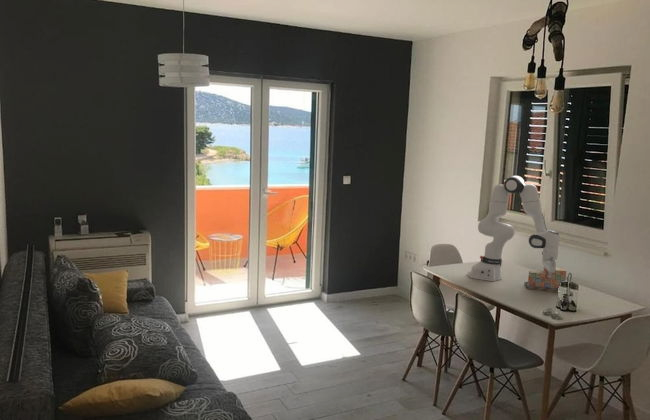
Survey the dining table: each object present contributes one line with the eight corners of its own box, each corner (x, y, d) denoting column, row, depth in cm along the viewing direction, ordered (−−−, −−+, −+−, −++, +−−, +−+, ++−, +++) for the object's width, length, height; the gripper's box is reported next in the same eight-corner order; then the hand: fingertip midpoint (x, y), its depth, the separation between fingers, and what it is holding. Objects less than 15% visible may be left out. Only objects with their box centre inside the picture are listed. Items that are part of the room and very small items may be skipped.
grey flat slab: (527, 288, 349) (527, 285, 349) (524, 284, 359) (524, 281, 358) (567, 293, 345) (568, 290, 345) (563, 288, 355) (564, 285, 354)
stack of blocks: (529, 286, 351) (531, 268, 349) (527, 283, 357) (529, 265, 355) (564, 289, 347) (566, 270, 345) (562, 286, 353) (563, 267, 351)
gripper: (559, 260, 338) (556, 281, 340) (551, 251, 357) (549, 271, 360) (548, 259, 339) (546, 280, 341) (541, 251, 358) (539, 271, 361)
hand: (547, 276), depth 351 cm, fingers closed on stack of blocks, 6 cm apart
